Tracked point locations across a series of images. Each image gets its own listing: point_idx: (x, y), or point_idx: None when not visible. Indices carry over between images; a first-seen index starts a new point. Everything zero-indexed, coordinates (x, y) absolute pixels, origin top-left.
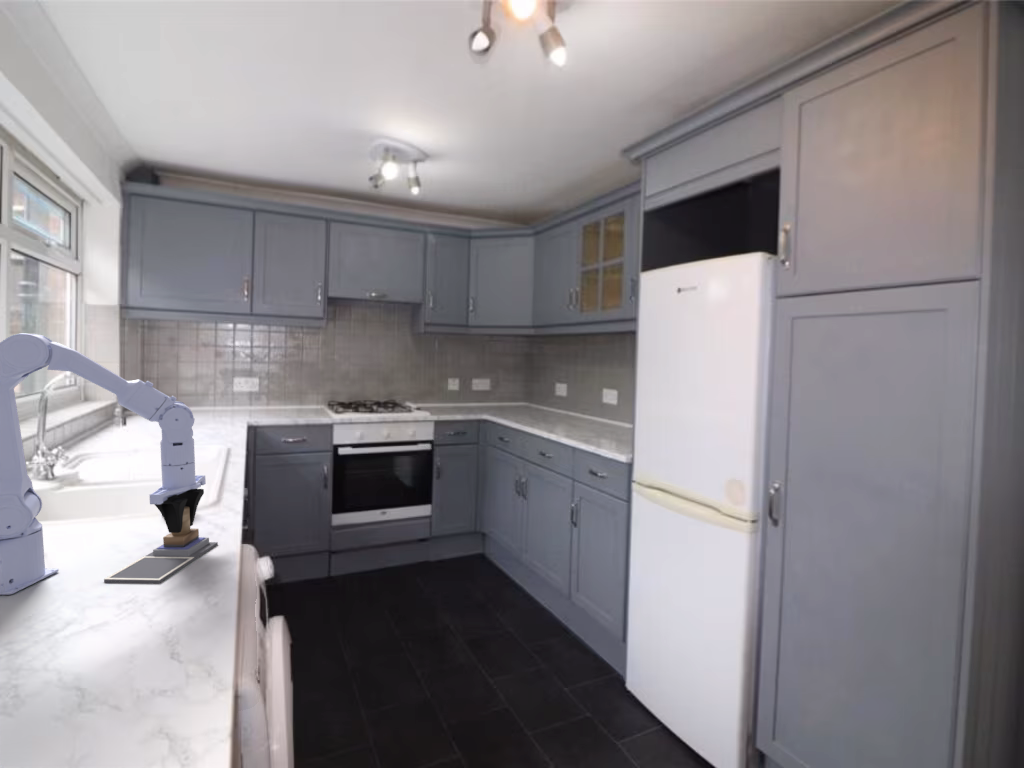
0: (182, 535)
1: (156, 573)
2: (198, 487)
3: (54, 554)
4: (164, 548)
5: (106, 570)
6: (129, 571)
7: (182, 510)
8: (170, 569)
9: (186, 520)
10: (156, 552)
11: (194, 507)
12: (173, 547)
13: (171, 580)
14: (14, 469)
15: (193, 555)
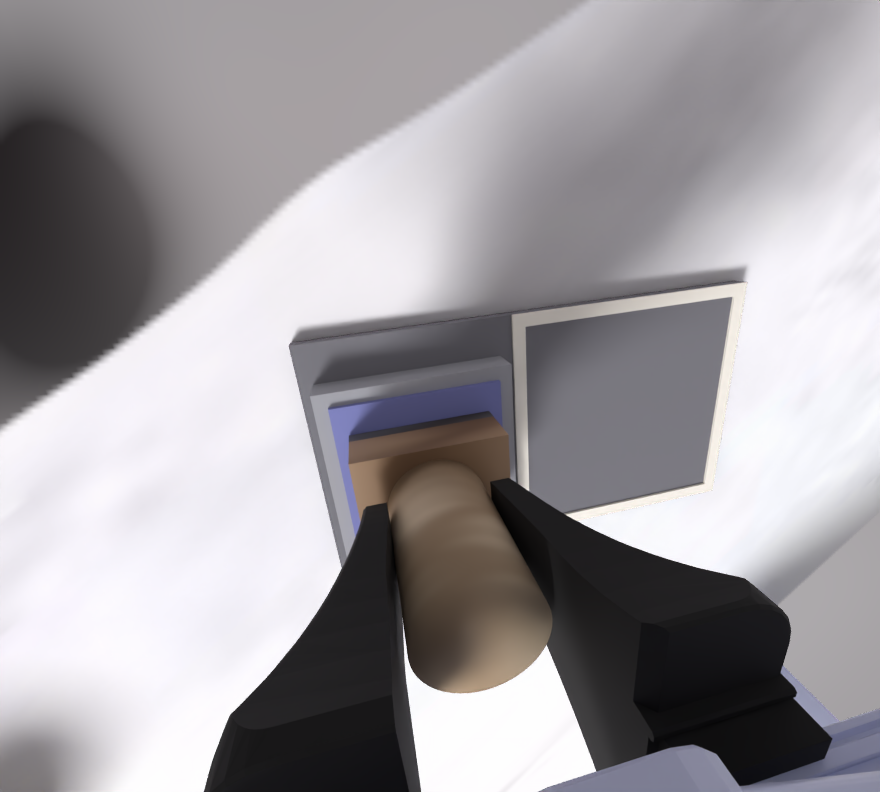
0: (480, 462)
1: (679, 349)
2: (628, 772)
3: (496, 780)
4: None
5: None
6: (652, 466)
7: (588, 559)
8: (644, 321)
9: (471, 513)
10: None
11: (381, 586)
12: None
13: (713, 250)
14: None
15: (487, 338)
